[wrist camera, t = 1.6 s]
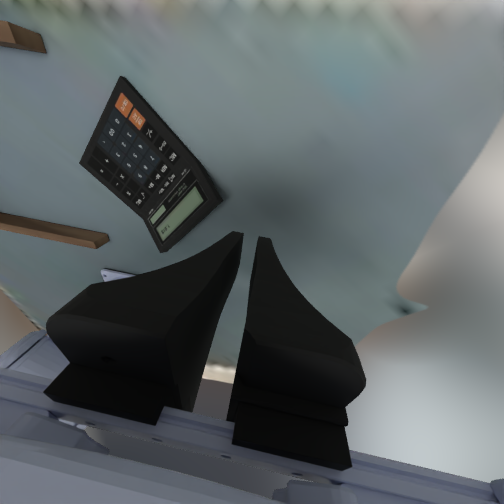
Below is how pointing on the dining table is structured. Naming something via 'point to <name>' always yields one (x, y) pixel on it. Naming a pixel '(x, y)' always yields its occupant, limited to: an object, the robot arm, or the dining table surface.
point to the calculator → (149, 167)
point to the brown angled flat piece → (29, 40)
